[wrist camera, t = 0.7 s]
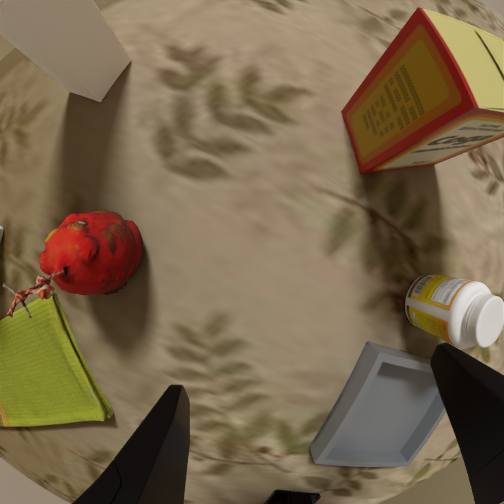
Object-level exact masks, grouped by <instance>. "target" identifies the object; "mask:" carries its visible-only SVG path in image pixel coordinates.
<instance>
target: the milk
mask: <svg viewBox="0 0 504 504" xmlns="http://www.w3.org/2000/svg"><path fill="white" fill-rule="evenodd" d="M0 35H1V36H2V37H4V38H5V39H6V40H8V41H9V42H10V43H11V44H12V45H13V46H15V47H16V48H17V49H18V50H19V51H21V52H22V53H23V54H24V55H26V56H27V57H28V58H29V59H30V60H32V61H33V62H34V63H35V64H36V65H38V66H39V67H40V68H41V69H42V70H44V71H45V72H46V73H47V74H48V75H50V76H51V77H52V78H53V79H54V80H56V81H57V82H58V83H59V84H60V85H62V86H63V87H64V88H65V89H66V90H68V91H69V92H71V93H75V94H78V95H81V96H84V97H86V98H89V99H92V100H95V101H98V102H101V101H102V100H103V98H104V97H105V95H106V94H107V92H108V91H109V90H110V88H111V87H112V85H113V84H114V83H115V81H116V80H117V78H118V77H119V76H120V74H121V73H122V72H123V71H124V69H125V68H126V67H127V65H128V64H129V63H130V62H131V59H130V57H129V55H128V54H127V52H126V51H125V49H124V48H123V46H122V45H121V43H120V41H119V40H118V38H117V37H116V35H115V34H114V32H113V30H112V29H111V27H110V26H109V24H108V23H107V21H106V20H105V18H104V16H103V15H102V13H101V12H100V10H99V9H98V7H97V5H96V4H95V2H94V1H93V0H0Z"/></svg>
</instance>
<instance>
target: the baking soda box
mask: <svg viewBox="0 0 504 504" xmlns="http://www.w3.org/2000/svg"><path fill="white" fill-rule="evenodd" d="M341 112H342V115H343V118H344V121H345V124H346V127H347V130H348V133H349V136H350V139H351V142H352V146H353V149H354V152H355V156H356V159H357V163H358V166H359V170H360V173H361V174H365V173H372V172H379V171H386V170H394V169H401V168H410V167H418V166H427V165H435V164H437V163H440V162H442V161H445V160H447V159H450V158H452V157H455V156H457V155H460V154H462V153H465V152H467V151H470V150H472V149H475V148H477V147H480V146H482V145H485V144H487V143H490V142H493V141H495V140H498V139H500V138H503V137H504V40H502V39H500V38H498V37H496V36H494V35H492V34H490V33H488V32H486V31H484V30H481V29H479V28H477V27H474V26H472V25H470V24H467V23H465V22H462V21H459V20H457V19H454V18H451V17H448V16H445V15H442V14H439V13H436V12H433V11H430V10H426V9H423V8H419V7H418V8H417V9H416V11H415V12H414V13H413V15H412V16H411V17H410V19H409V20H408V21H407V23H406V24H405V25H404V27H403V28H402V29H401V31H400V32H399V34H398V35H397V36H396V38H395V39H394V40H393V42H392V43H391V44H390V46H389V47H388V48H387V50H386V51H385V52H384V54H383V55H382V56H381V58H380V59H379V61H378V62H377V63H376V65H375V66H374V67H373V69H372V70H371V71H370V73H369V74H368V76H367V77H366V78H365V80H364V81H363V82H362V84H361V85H360V86H359V88H358V89H357V91H356V92H355V93H354V95H353V96H352V97H351V99H350V100H349V102H348V103H347V104H346V106H345V107H344V108H343V110H342V111H341Z"/></svg>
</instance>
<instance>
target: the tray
mask: <svg viewBox="0 0 504 504" xmlns="http://www.w3.org/2000/svg"><path fill="white" fill-rule="evenodd" d="M430 360H431V359H430V358H426V357H422V356H418V355H414V354H411V353H407V352H403V351H400V350H396V349H392V348H389V347H385V346H382V345H378V344H375V343H371V342H368V341H367V342H366V344H365V347H364V349H363V351H362V353H361V355H360V357H359V359H358V362H357V364H356V366H355V368H354V370H353V372H352V374H351V376H350V378H349V380H348V381H347V383H346V385H345V387H344V389H343V391H342V393H341V395H340V396H339V398H338V400H337V402H336V404H335V405H334V407H333V409H332V411H331V412H330V414H329V416H328V417H327V419H326V421H325V422H324V424H323V426H322V427H321V429H320V431H319V432H318V434H317V435H316V437H315V439H314V440H313V442H312V443H311V445H310V446H309V447H310V451H311V454H312V457H313V461H314V463H315V464H324V465H336V466H352V467H402V466H409V465H410V463H411V462H412V461H413V459H414V458H415V457H416V455H417V454H418V453H419V451H420V450H421V449H422V447H423V446H424V445H425V443H426V442H427V440H428V439H429V437H430V436H431V434H432V433H433V431H434V430H435V428H436V427H437V425H438V424H439V422H440V421H441V419H442V417H443V416H444V414H445V412H446V409H445V407H444V405H443V402H442V399H441V397H440V394H439V390H438V387H437V384H436V381H435V378H434V374H433V371H432V368H431V365H430Z"/></svg>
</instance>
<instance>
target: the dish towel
mask: <svg viewBox="0 0 504 504" xmlns="http://www.w3.org/2000/svg"><path fill="white" fill-rule="evenodd" d="M26 307H27V309H28V310H29V313H30V315H31V317H32V318H29V316H28V314H27V312H26V311H25V308H24V307H23V308H21V309H19V310H18V311H15V312H14V313H13V317H12V318H11V317H10V316H7V317H5V318H3V319H2V320H0V426H3V427H16V426H17V427H19V426H24V427H26V426H27V427H31V426H43V425H56V424H68V423H75V422H83V421H101V422H104V421H105V420H106V419H107V418H109V419H110V418H111V416H112V415H113V411H112V408H111V406H110V404H109V403H108V401H107V400H106V398H105V396H104V394H103V393H102V391H101V389H100V388H99V386H98V384H97V382H96V380H95V379H94V377H93V375H92V373H91V371H90V370H89V368H88V366H87V364H86V362H85V360H84V357H83V355H82V353H81V351H80V349H79V347H78V345H77V343H76V340H75V338H74V336H73V334H72V332H71V329H70V327H69V325H68V322H67V320H66V318H65V315H64V313H63V310H62V308H61V305H60V302H59V300H58V297H57V294H56V292H54V294H53V295H52V296H51V297H50V298H49V299H43V300H42V299H40V298H39V299H37V300H35V301H34V302H32V303H30V304H28V305H26Z"/></svg>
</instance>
